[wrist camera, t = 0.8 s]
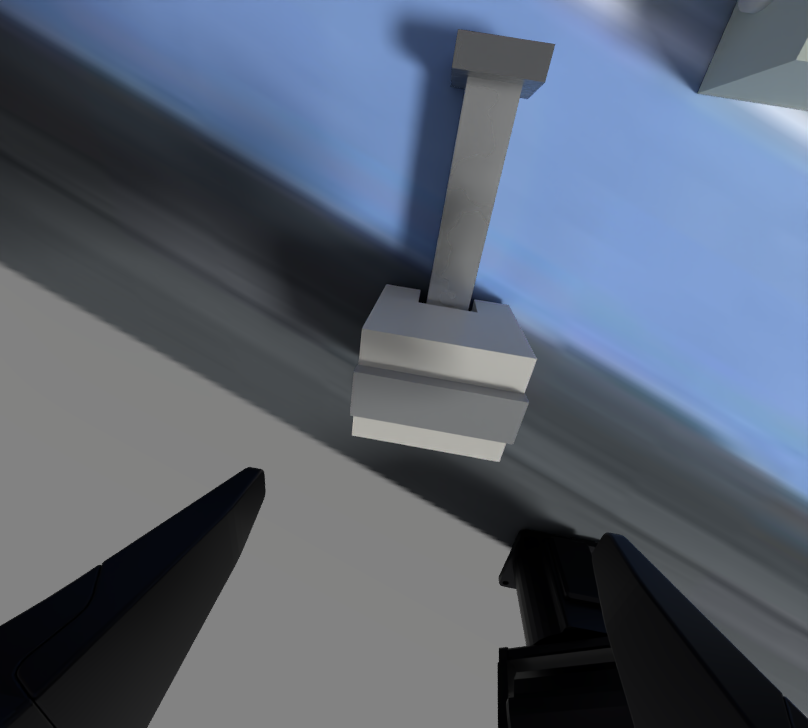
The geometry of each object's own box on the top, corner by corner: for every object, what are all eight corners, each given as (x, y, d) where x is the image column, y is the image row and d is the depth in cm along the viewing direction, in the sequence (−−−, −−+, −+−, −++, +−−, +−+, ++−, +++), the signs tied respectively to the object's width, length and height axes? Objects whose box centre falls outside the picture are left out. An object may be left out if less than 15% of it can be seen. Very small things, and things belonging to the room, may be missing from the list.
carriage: (485, 386, 20) (502, 472, 14) (375, 367, 21) (347, 444, 15) (509, 305, 18) (542, 366, 12) (385, 284, 18) (356, 334, 12)
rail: (448, 413, 22) (449, 443, 20) (397, 404, 22) (392, 432, 20) (535, 68, 14) (555, 44, 12) (455, 55, 14) (457, 29, 12)
